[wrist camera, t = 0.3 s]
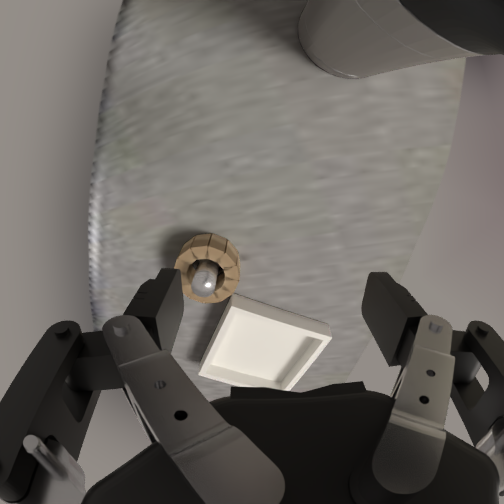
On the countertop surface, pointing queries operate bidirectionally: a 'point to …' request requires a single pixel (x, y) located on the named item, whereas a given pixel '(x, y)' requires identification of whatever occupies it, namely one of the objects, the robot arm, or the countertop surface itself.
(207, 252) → the oak ring
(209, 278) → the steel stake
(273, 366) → the white tray
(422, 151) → the countertop surface
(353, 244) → the countertop surface
